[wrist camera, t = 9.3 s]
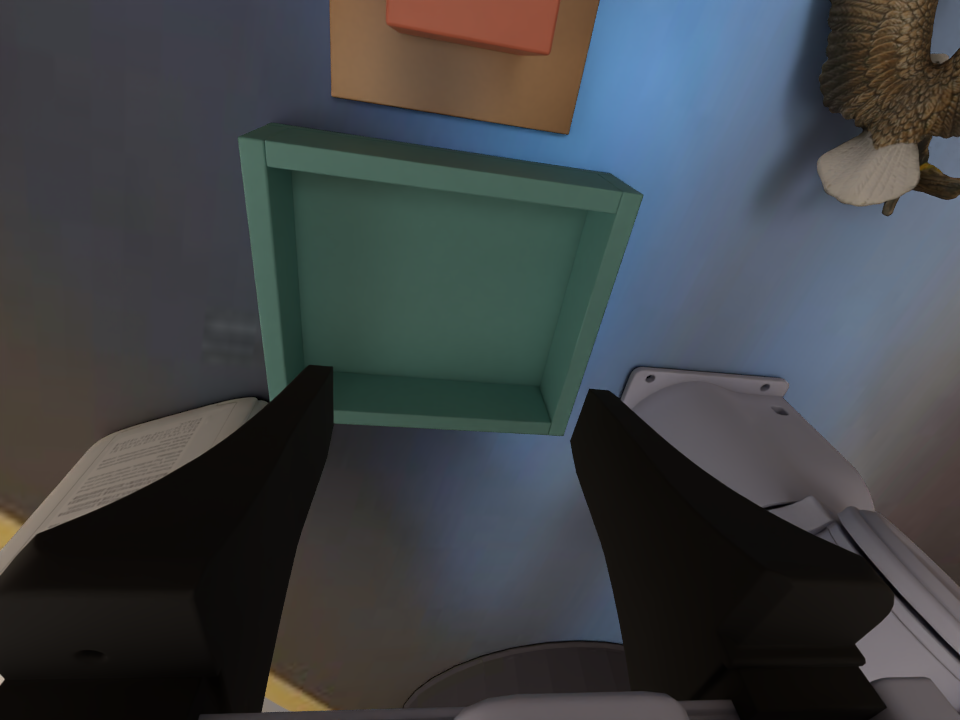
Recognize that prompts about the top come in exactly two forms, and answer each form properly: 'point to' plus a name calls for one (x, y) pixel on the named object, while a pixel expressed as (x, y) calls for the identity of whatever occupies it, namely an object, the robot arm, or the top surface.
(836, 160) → the eagle figurine
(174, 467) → the white rounded flat block
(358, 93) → the coaster
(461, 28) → the block
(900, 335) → the top surface
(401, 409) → the bin
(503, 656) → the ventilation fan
